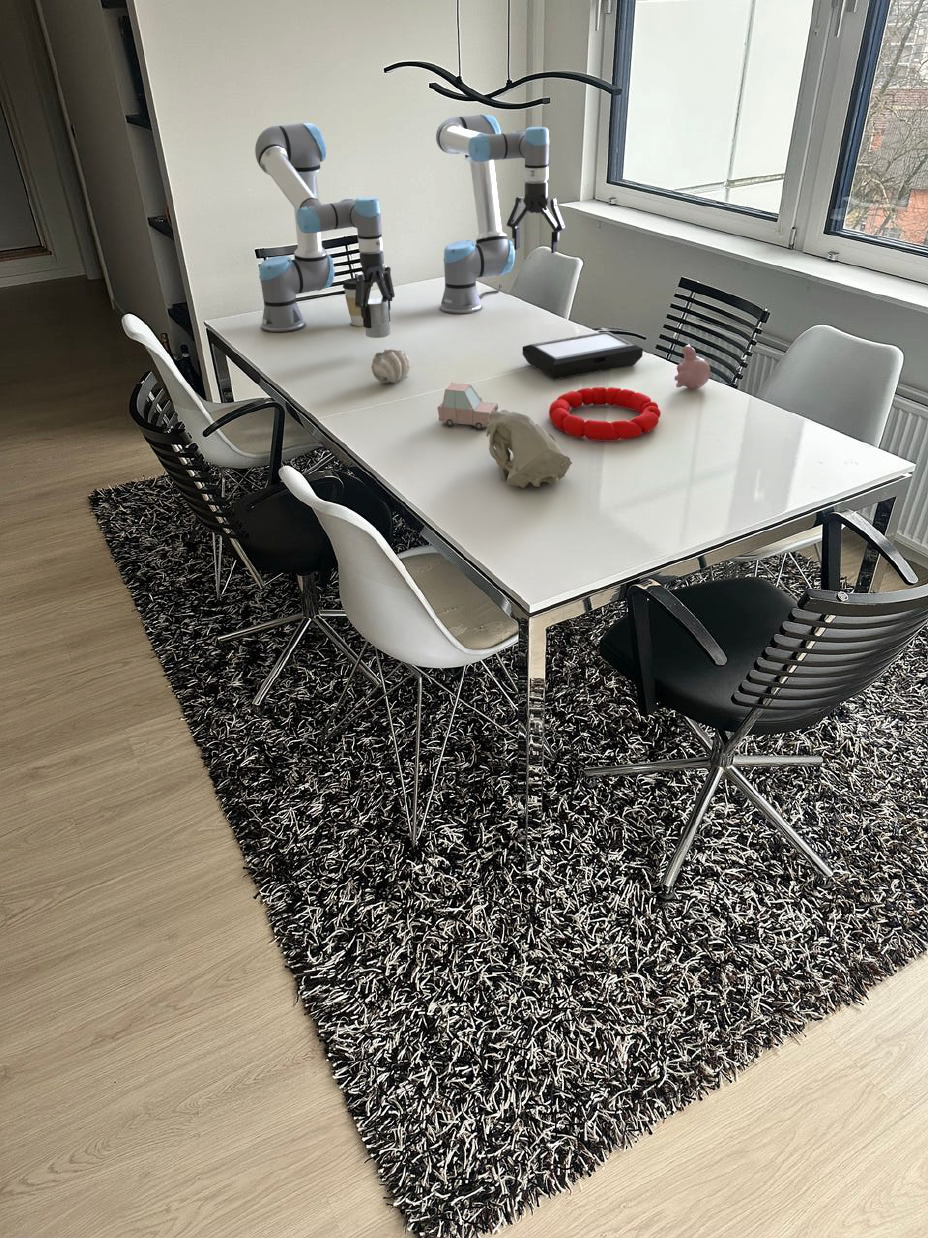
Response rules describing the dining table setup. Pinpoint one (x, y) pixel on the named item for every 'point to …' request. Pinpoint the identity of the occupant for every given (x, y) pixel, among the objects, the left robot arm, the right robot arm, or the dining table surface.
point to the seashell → (390, 366)
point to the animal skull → (525, 450)
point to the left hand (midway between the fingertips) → (377, 324)
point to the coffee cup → (352, 302)
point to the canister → (378, 318)
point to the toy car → (465, 406)
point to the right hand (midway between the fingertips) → (535, 250)
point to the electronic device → (582, 354)
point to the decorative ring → (604, 428)
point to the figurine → (692, 370)
